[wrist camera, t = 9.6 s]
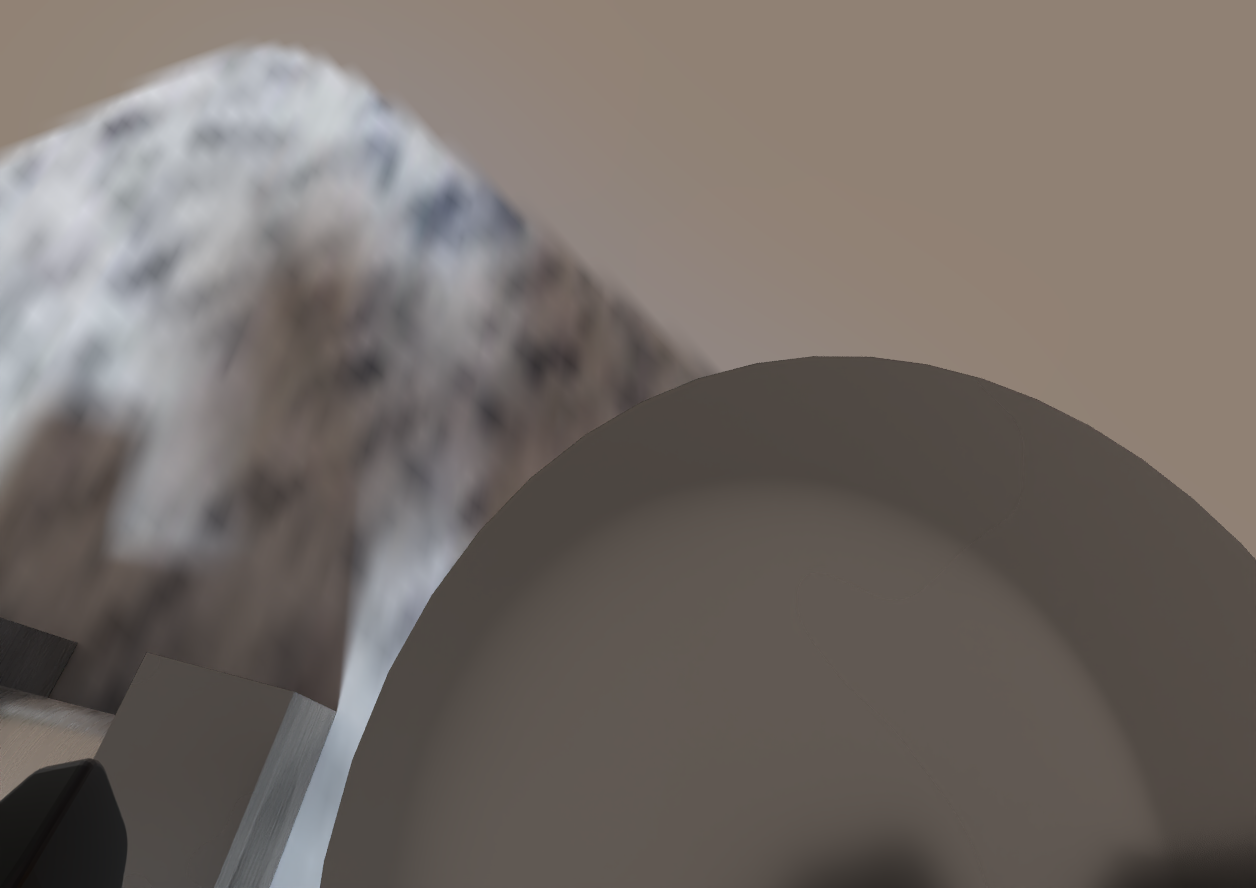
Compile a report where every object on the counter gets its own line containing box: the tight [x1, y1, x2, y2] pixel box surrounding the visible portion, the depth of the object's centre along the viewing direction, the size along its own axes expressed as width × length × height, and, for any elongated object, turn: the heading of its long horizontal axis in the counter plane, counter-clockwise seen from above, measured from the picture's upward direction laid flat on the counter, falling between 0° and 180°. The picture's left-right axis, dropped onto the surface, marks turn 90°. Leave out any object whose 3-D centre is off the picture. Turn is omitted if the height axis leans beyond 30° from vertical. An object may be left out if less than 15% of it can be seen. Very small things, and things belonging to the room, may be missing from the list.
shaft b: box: [0, 618, 336, 888], centre depth 11 cm, size 7×4×4 cm, turn 77°
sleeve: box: [320, 356, 1256, 888], centre depth 9 cm, size 5×5×13 cm
